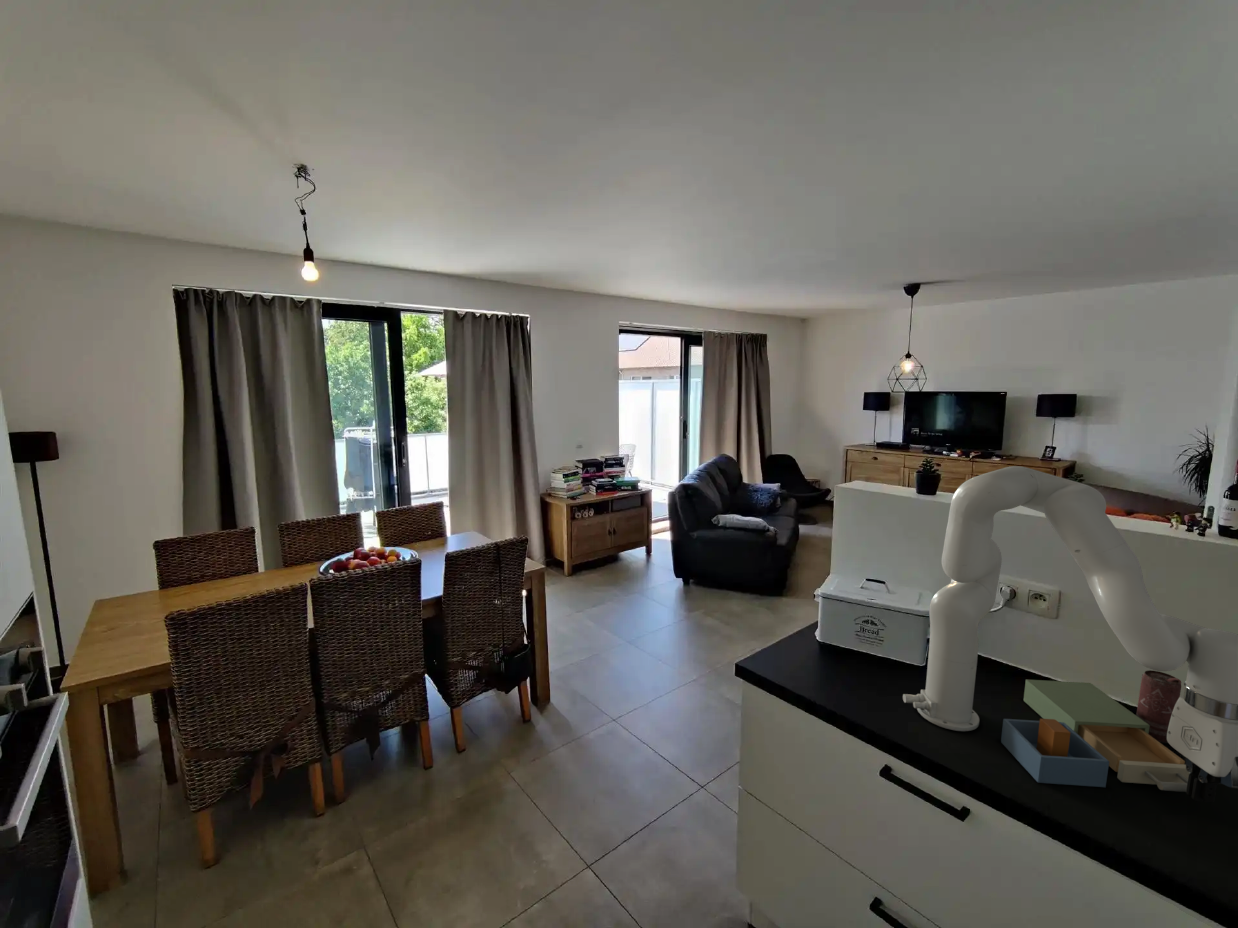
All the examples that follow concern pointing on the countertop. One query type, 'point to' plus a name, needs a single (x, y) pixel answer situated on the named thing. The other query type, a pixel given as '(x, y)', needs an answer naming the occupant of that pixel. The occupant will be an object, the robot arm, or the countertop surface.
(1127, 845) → the countertop surface
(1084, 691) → the cabinet
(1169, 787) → the drawer
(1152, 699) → the can
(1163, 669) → the robot arm
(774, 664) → the countertop surface
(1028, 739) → the bin
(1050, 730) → the orange brown brick
